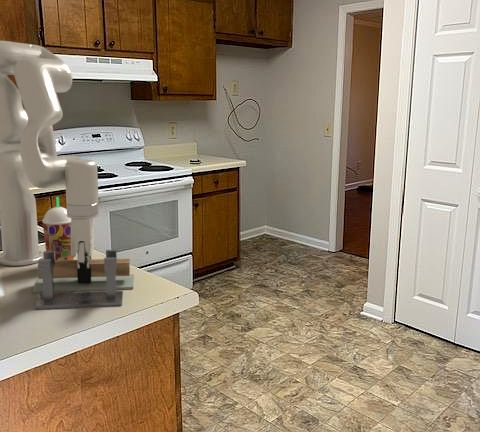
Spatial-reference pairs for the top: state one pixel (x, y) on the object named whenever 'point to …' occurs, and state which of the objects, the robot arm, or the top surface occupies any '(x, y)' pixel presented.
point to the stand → (77, 299)
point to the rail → (97, 266)
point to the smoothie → (58, 232)
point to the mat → (85, 284)
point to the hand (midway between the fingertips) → (85, 279)
